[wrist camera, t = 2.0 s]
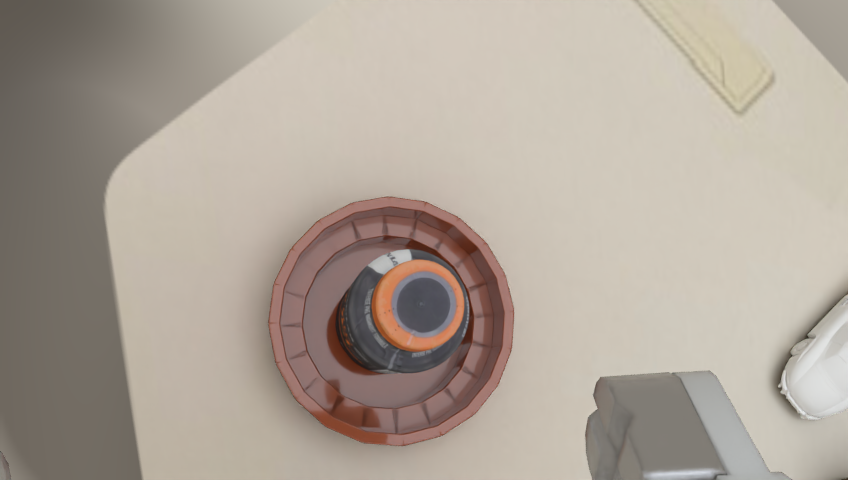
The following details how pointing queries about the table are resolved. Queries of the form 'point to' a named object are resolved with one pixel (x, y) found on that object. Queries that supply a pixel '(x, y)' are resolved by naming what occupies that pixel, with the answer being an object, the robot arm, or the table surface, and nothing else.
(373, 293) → the pill bottle
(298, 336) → the bowl
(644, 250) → the table surface
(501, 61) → the table surface
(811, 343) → the toy car
